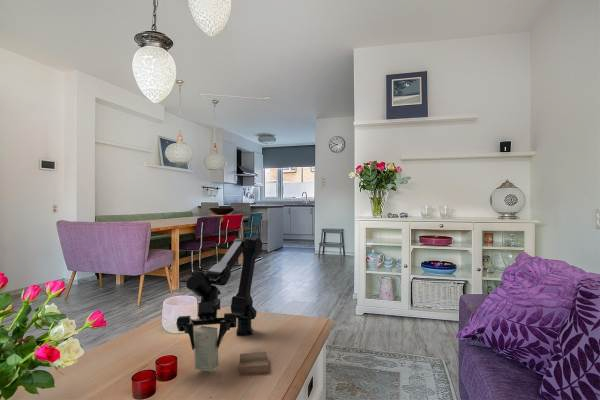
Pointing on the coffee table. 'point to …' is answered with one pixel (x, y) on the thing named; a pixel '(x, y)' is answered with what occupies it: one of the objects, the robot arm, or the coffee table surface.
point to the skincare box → (206, 348)
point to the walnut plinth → (254, 363)
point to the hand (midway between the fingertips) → (205, 348)
